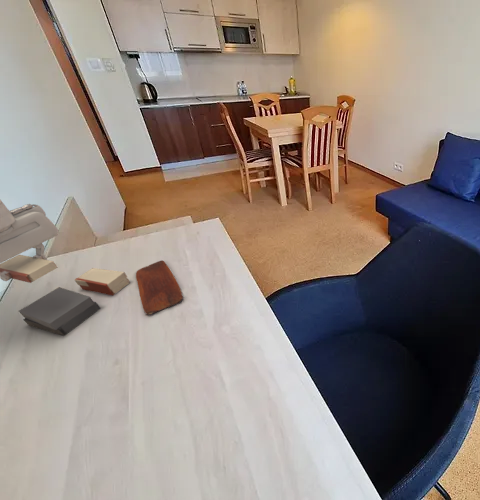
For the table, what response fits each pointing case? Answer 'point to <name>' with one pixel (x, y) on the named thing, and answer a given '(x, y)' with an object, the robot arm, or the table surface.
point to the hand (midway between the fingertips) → (25, 269)
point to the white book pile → (103, 281)
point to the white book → (27, 267)
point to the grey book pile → (59, 311)
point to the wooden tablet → (157, 287)
